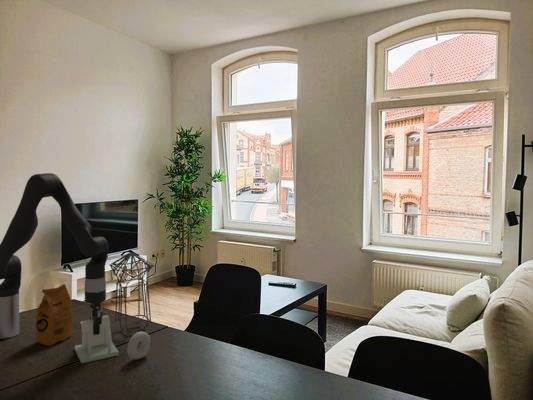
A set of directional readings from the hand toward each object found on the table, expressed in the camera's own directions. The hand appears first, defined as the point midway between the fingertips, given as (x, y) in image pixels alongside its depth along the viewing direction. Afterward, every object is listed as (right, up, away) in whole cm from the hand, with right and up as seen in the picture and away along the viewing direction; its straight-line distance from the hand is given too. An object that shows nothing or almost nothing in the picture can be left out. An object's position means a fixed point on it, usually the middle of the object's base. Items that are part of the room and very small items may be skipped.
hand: (95, 333), depth 156 cm
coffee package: (-21, -6, +9) cm, 24 cm away
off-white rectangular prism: (+1, -4, +1) cm, 5 cm away
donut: (+19, -7, -7) cm, 22 cm away
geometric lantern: (+8, -6, +19) cm, 21 cm away
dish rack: (+1, -7, -2) cm, 7 cm away
